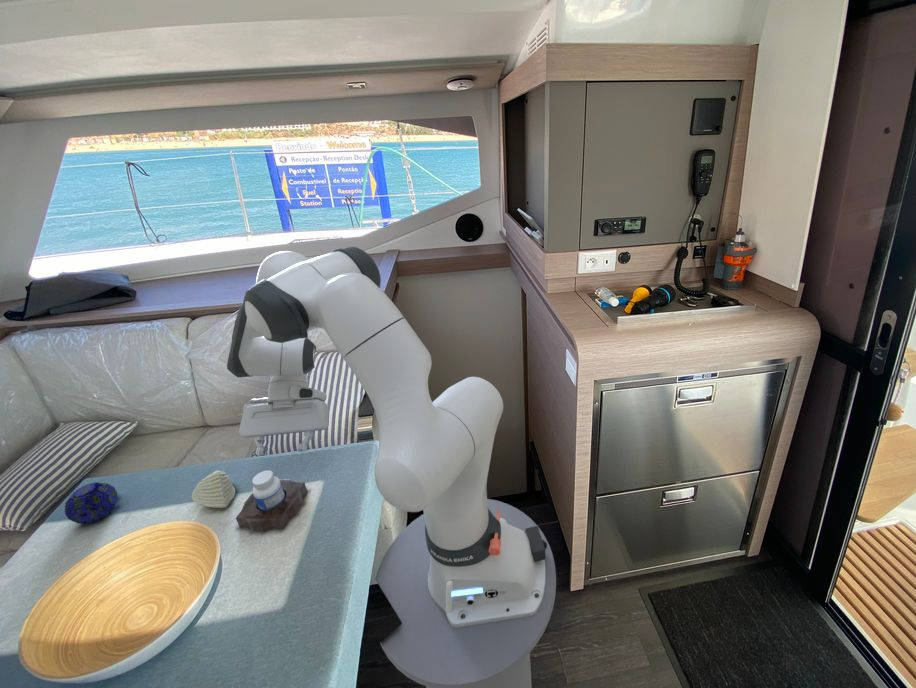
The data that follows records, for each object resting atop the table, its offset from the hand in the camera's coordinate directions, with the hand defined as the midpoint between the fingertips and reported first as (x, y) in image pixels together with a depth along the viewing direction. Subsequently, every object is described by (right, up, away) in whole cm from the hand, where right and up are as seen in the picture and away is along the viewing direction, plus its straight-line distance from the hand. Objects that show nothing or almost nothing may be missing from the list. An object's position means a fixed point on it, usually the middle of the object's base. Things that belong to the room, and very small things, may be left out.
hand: (282, 453), depth 100 cm
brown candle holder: (+2, -11, -6) cm, 12 cm away
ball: (-39, -12, -5) cm, 42 cm away
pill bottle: (+2, -11, -6) cm, 12 cm away
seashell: (-14, -10, -2) cm, 18 cm away
